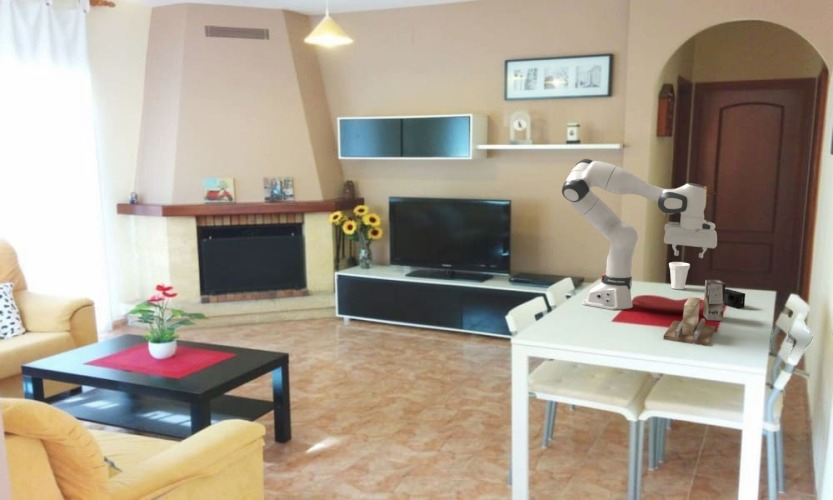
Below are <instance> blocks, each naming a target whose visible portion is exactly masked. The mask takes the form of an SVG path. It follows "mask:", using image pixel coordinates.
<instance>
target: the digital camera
mask: <svg viewBox="0 0 833 500" xmlns="http://www.w3.org/2000/svg"><path fill="white" fill-rule="evenodd" d="M745 301H746V293H744V292H741V291H737V290H733V289H730V288H725V297H724V306H727V307H730V308H733V309H737V310H738V309H745V303H746V302H745Z"/></svg>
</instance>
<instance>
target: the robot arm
mask: <svg viewBox="0 0 833 500" xmlns="http://www.w3.org/2000/svg"><path fill="white" fill-rule="evenodd" d="M592 187H597V188H600V189H602V190H604V191H606V192H609V193H612V194H615V195H616V194H617V195H636V196H641V197H642V198H646V199H648V200H650V201H653V202H656V203H657V206H658V208H659V210H660V211H661V212H662V213H664V214H667V215H674V214H680V221H679V222H678V221H668V222H666V223H665V224H664V237H663V242H664V244H665V245H667V244H668V245H672V246H671V247H672V250H673V251H674V256H676V257H677V256H679V254H680V250H677V248H676V247H677V246H686V247H696V248H702V252H699V253H698V258H699V259H703V258H704V254H705V253H706V251H707V250H708V249H715V248H716V247H717V246H718V234H717V231H716V230H715V229H716V224H715V223H713V222H711V221H708V220H706V219H705V213H704V211H705V208H706V206H707V205H706V204H707V190H706V188H705V187H704V186H703V185H701V184H697V183H692V182H687V183H684V185H681V186H679V187H677V188H674V187H673V188H672V187H671V188H665V187H661V186H658V185H655V184H653V183H650V182H647V181H644V180H642V179H641V178H639V177H637V176H636V175H634V174H633V173H631V172H630V171H628V170H626V169H624V168H622V167H620V166H618V165H615V164H613V163H609V162H605V161H599V160H592V159H589V158H583V159H580V160H579V161H578V162H577V163H576V164H575V166H574V167H573V168H572V169H571V171H570V172H569V174H568V176H567V178H566V180H565V182H564V183H563V185H562V187H561V195H562V196H563V197H564V199H566V200H567V201H568V203H569V204H570V205H571V207H573V209H574V210H575V211H576V212H577V213H578V214H579V215H580V216H581V217H582V218H583V219H585V220H586V221H587V222H588V223H589V224H590V225H591V226H593V228H595V230H597V232H598V233H600V234H601V235H602V236H603V237H604V238H605V239H606V240H607V241H609V242H610V246H609V251H608V254H607V257H606V267H605V268H606V269H605V273H603V274H602V275H601V277H600V280H601V282H599V283H598V284H596V285H595V286H593V287H592V288H590V290H589V291H588V295H587V297H586V298H584V299H583V300H582V305H585V306H589V307H595V308H601V309H605V310H610V311H611V310H612V311H616V310H627V309H632V308H633V307H634V304H633V301H632V292H631V289H632V286H633V285H632V284H633V276H632V265H633V264H632V263H633V257H634V253H635V248H636V244H637V242H638V239H639V237H638V232H637V230H636V228H635V227H634V226H632V225H630V224H629V223H626V221H624V220H623V219H622V218H621V217H620V216H619V215H618V214H617V213H616V212H615V211H614V210H613V209H612V208H611V207H609V205H608V204H606V203H605V202H604V201H603V200H602V199H601V198H599V197H598V196H597V195H596V194H595V193H594V192H593V191H592V190H591V189H592Z"/></svg>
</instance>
